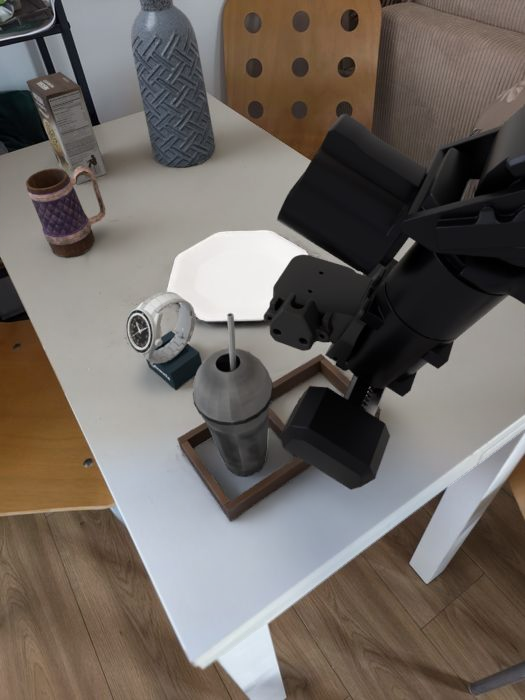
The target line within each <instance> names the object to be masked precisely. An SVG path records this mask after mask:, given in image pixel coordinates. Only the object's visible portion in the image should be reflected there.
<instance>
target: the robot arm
mask: <svg viewBox="0 0 525 700" xmlns="http://www.w3.org/2000/svg"><path fill="white" fill-rule="evenodd" d="M471 180H478V182H477V185H476V188H475V191H474V196H473V197H470V198H466V199H465V196H466V193H467V190H468V188H469V186H470V183H471ZM276 221H277V222H279V223H280V224H282V225H283V226H285V227H287V228H288V229H290V230H292V231H293V232H294V233H296V234H298V235H299V236H301V237H303V238H304V239H306V240H307V241H309V242H311V243H312V244H314V245H315V246H316V247H318V248H320V249H322V250H323V251H325V252H327V253H328V254H329V255H332V256H333V257H335V258H336V259H338V261H339V260H340V261H341V262H342V263H344V264H346V265H347V266H346V265H343V264H340V263H337V262H333V261H329V260H326V259H323V258H320V257H316V256H312V255H310V254H309V255H298V256H295V257H294V258H292V259H291V261H290V262H289V264H288V265H287V267H286V268H285V270H284V271H283V273H282V274H281V276H280V277H279V279H278V280H277V282H276V283H275V285H274V287H273V298H272V300H271V301H270V307H269V308H268V310H267V311H266V313H265V314H264V320H265V323H267V324H269V335H270V337H271V338H272V339H273V340H274V341H275V342H276V343H279V344H282V345H285V346H288V347H291V348H293V349H297V350H299V351H303V352H305V351H309V350H311V349H312V348H313V346H314V345H315V343H317V342H318V343H324V344H325V343H331V344H330V345H329V347H328V349H327V351H326V352H325V355H324V356H325V357H327V358H329V359H330V360H332V361H333V362H335V364H334V366H335V367H336V368H337V369H339V370H341V371H343V372H347V371H349V372H350V373H351V374H352V377H351V379H350V383H349V386H348V388H347V390H346V392H345V394H344V395H343V396H342V395H341V394H339V393H338V392H336V391H334V390H333V389H331V388H330V387H329V386H317V385H309V386H308V387H307V388H306V390H305V391H304V392H303V393H302V394H301V396H300V397H299V398H298V400H297V402H296V403H295V405H294V407H293V409H292V411H291V413H290V415H289V417H288V419H287V420H286V423H285V426H284V428H283V430H282V432H281V434H280V436H279V437H280V439H281V440H280V439H279V440H280V442H281V446H282V448H283V449H284V450H286V451H288V452H289V453H291V454H292V455H293V454H294V455H296V456H297V457H299V458H300V459H302V460H304V461H305V462H307V463H308V464H310V465H312V466H311V467H313V468H315V469H317V470H318V471H320V472H321V473H322V474H324V475H326V476H327V477H329V478H331V479H333V480H334V481H336V482H337V483H339V484H341V485H342V486H344V487H345V488H347V489H348V490H351V491H352V490H355V489H359V488H362V487H363V486H365V485H367V484H369V483H370V482H373V480H375V479H376V477H377V474H378V472H379V469H380V466H381V463H382V461H383V457H384V454H385V452H386V450H387V446H388V443H389V441H390V438H391V435H390V431H389V428H388V426H387V424H386V422H385V421H384V420H381V419H380V418H379V419H378V418H376V417H375V413H376V411H377V408H378V407H380V406H379V405H380V404H381V401H382V398H383V396H384V393H385V390H386V388H387V389H389V390H390V391H392V392H393V393H395V394H397V395H399V396H400V397H401V398H403V397H405V396H406V395H407V394H408V393H410V392H411V390H412V388H413V384H414V382H415V379H416V376H417V373H418V371H419V370H420V369H422V368H423V367H424V366H425V365H427V364H429V365H431V366H433V367H434V368H435V369H437V370H439V369H440V368H441V367H442V366H444V365H445V364H447V363H448V362H449V360H450V356H451V352H452V350H453V346H454V342H455V340H457V339H458V338H459V337H461V336H462V335H463V334H464V333H465V332H466V331H468V330H469V329H470V328H471V327H472V326H474V325H475V324H476V323H477V322H478V321H480V320H481V319H482V318H484V317H485V316H486V315H487V314H488V313H490V312H491V311H492V310H493V309H494V308H496V307H497V306H498V305H499V304H500V303H501V302H503V301H504V300H506V299H507V297H509V296H510V297H511V298H514V299H515V300H517V301H518V302H520V303H521V304H523V305H525V103H524V104H523V106H521V107H520V108H519V109H517V110H516V111H515V112H514V113H513V114H512V115H511V116H510V117H509V118H508V119H506V120H505V121H504V122H503V124H502V125H498V126H496V127H494V128H490V129H488V130H484V131H482V132H478V133H476V134H473V135H470V136H467V137H462V138H461V139H457V140H454V141H452V142H449V143H445V144H443V145H440V146H437V148H436V149H435V152H434V153H433V156H432V157H431V160H430V162H429V163H428V165H426V167H425V166H423V165H421V163H419V162H416V161H415V160H413V158H410V157H409V156H407V155H405V154H404V153H402V152H400V151H399V150H398V149H396V148H394V147H393V146H391V145H390V144H388V143H387V142H385V141H384V140H381V139H380V138H378V137H377V136H376V135H375V134H374V133H373V132H372V131H371V130H370V129H369V128H368V127H367V126H366V125H364V124H363V123H362V122H360V121H358V120H357V119H355V118H353V117H352V116H350V115H349V114H347V113H343V114H341V115H339V117H338V118H337V119H336V121H335V122H334V123H333V125H331V126H330V128H329V130H328V131H327V133H326V135H325V137H324V139H323V140H322V142H321V144H320V147H319V148H318V149H317V151H316V153H315V154H314V156H313V157H312V159H311V161H310V162H309V164H308V166H307V167H306V169H305V170H304V171H303V173H302V174H301V176H300V177H299V179H298V180H297V181H296V182H295V183H294V185H293V186H292V188H290V190H289V191H288V193H287V195H286V197H285V199H284V201H283V203H282V205H281V207H280V210H279V212H278V215H277V218H276ZM409 239H411V240H412V241H414V242H413V244H412V245H411V246H410V247H409V248H408V250H407V251H406V252H405V253H404V255H402V257H401V258H400V259H399V261H398V260H397V259H395V257H396V256H397V255H398V253H400V251H401V249H402V248H403V247H404V245H405V244H406V243H407V241H408V240H409ZM356 271H357V272H356ZM358 272H360V273H358ZM361 273H362V274H361ZM364 399H365V401H364ZM362 404H363V405H362ZM294 455H293V456H294Z"/></svg>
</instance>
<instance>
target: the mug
mask: <svg viewBox="0 0 525 700" xmlns="http://www.w3.org/2000/svg"><path fill="white" fill-rule="evenodd" d="M80 175H85V176H88V177H89V178H90V179H91V180H90V181H91V183H92V188H93V191H94V194H95V197H96V200H97V203H98V206H99V213H97V214H96V215H94V216H91V217H88V215H87V214H86V213H85V210H84V208H83V206H82V204H81V202H80V199H79V197H78V194H77V192H76V189H75V187H74V185H77V184H76V183H77V179H78V177H79V176H80ZM25 185H26V190H27V193H28V196H29V197H30V199H31V202H32V204H33V207H34V209H35V211H36V214H37V216H38V219H39V222H40V224H41V226H42V227H41V228H42V232H43V235H44V237H45V239H46V241H47V242H48V244H49V246H50V249H51V251H52V252H53V254H55V255H57V256H61V257H64V258H67V257H68V258H71V257H76V256H79V255H82V254H84V253H86V252H87V251H89V250H90V248H92V246H93V245H94V244H95V241H96V237H95V234H94V232H93V229H92V226H93V225H94V224H97V223H99V222H101V220H103V219H104V218H105V216H106V207H105V203H104V200H103V197H102V194H101V191H100V189H99V188H100V187H99V184H98V180H97V177H96V175H95V174H94V173H93V172H92V170H91V169H90V168H89V167H86V166H83V165H82V166H80V167H77V168H76V169H75V170H74V175H73V178H72V179H71V178H70V177H69V176H68V174H67V173H66V171H64V170H62V169H61V168H55V167H54V168H46V169H42V170H40V171H39V170H38V171H37V172H35V173H33V174H32V175H30V176H29V177H28V178H27V179H26V181H25Z"/></svg>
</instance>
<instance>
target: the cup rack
mask: <svg viewBox="0 0 525 700" xmlns="http://www.w3.org/2000/svg"><path fill="white" fill-rule="evenodd" d="M319 373H320V374H321V375H322V376H323V377H324V378H325V379H326V380H327V381H328V382H329V383H331V385H333V387H335V388H336V390H338V391H339V392H340V394H342V395H343V396H344V394H345V392H346V390H347V388H348V386H349V383H350V381H351V379H349V378H348V377H347V376H346V375H345V374H344V373H343V372H342V371H340V369H339V368H338V367H337V366H336V365H335V364H333V363H332V362H331V361H330V360H329V359H328V358H326V356H325V355H323V353H320V354H318V355H317V356H315V357H313V358H312V359H310V360H308V361H306V362H305V363H303V364H301V365H300V366H298V367H296V368H294V369H293V370H291V371H289V372H287V373H285V374H284V375H282V376H281V377H279V378H277V379H275V380H274V381H272V384H273V388H274V392H273V398H272V401H271V402H273V401H275V400H276V399H278V398H280V397H281V396H283V395H285V394H286V393H288V392H290V391H291V390H293V389H295V388H296V387H298V386H299V385H302V383H305V382H306V381H308V380H309V379H311V378H313V377H314V376H316V375H318V374H319ZM364 401H365V399H364ZM362 405H363V404H362ZM381 411H382V409H381V408H380V406H378V408H377V411H376V413H375V417H376V418H378V419H379V420H380V416H381ZM285 425H286V423H285V422H283V421H282V420H281V418H280V417H279V416H278V415H277V414H276V412H274V410H273V409H271V407H270V410H269V421H268V428H269V429H270V430H271V431H272V432H273V433H274V434H275V435H276V436H277V438H278V439H279V440H280V441H281V439H280V437H279V436H280V434H281V432H282V430H283V428H284V426H285ZM210 439H213V437H212V435H211V433H210V430H209V428H208V425H207V423H206V422H205V421H204V422H202V423H201V424H199V425H198V426H196V427H195V428H193V429H191V430H189V431H187V432H186V433H184V434H183V435H181V436H179V437H177V443H178V446H179V448H180V451H181V452H182V454H183V455H184V457H185V458H186V460H187V461H188V463H189V464H190V465H191V467H192V468H193V470H194V471H195V473H196V475H198V477H199V479H200V480H201V481H202V483H203V484H204V486H205V487H206V488H207V490H208V491H209V493H210V494H211V496H212V497H213V499H214V500H215V502H216V503H217V505H218V506H219V508H220V509H221V511H222V513H223V514H224V515H225V516H226V518H227V520H228V521H229V522H232V521H233V520H234V519H237V518H238V517H240V516H241V515H242V514H244V513H245V512H247V511H248V510H250V509H251V508H253V507H254V506H255V505H257V504H258V503H260V502H261V501H263V500H264V499H265V498H267V497H269V496H270V495H272V494H273V493H275V492H276V491H278V490H279V489H280V488H282V487H283V486H285V485H287V484H288V483H289V482H291V481H292V480H293V479H295V478H297V477H298V476H299V475H301V474H303V473H304V472H306V471H307V470H308V469H310V468H312V467H313V466H312V465H310V464H308V463H307V462H305V461H304V460H302V459H300V458H299V457H297V456H296V455H294V454H292V455H293V456H294V457H295V458H293V459H292V460H290V461H288V462H287V463H286V464H284V465H283V466H281V467H279V468H278V469H276V470H275V471H274V472H272V473H270V474H269V475H267V476H266V477H265V478H263V479H261V480H260V481H259V482H257V483H255V484H254V485H253V486H251V487H249V488H248V489H247V490H245V491H244V492H242V493H240V494H239V495H237V496H236V497H234V498H232V499H231V500H230V499H229V497H228V495H227V494H226V493H225V492H224V490H223V489H222V487H221V486H220V485H219V483H218V482H217V480H216V478H215V477H214V476H213V474H212V473H211V472H210V470H209V469H208V468H207V466H206V464H205V463H204V462H203V460H202V459H201V458H200V456H199V455H198V453H197V452H196V450H195V448H197V447H198V446H201V445H202V444H204V443H205V442H207V441H209V440H210Z"/></svg>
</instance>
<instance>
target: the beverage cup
mask: <svg viewBox="0 0 525 700" xmlns="http://www.w3.org/2000/svg"><path fill="white" fill-rule="evenodd" d="M227 320H228V322H227V335H228V336H227V337H228V348H224V349H220V350H217V351H215V352H213V353H212V354H210V355H209V356H208V357H207V358H205V359H204V360H203V362H202V364H201V366H200V367H199V369H198V370H197V373H196V376H194V380H193V383H192V385H193V387H192V388H193V390H192V399H193V405H194V407H195V409H196V410H197V412H198V414H199V415H200V416H201V417H202V419H203V420H204V423H205V422H206V423H207V425H208V428H209V430H210V433H211V435H212V440H213V441H214V444H215V446H216V449H217V451H218V454H219V456H220V459H221V461H222V462H223V464H224V466H225V468H226V469H227V471H228V472H229V473H231V474H232V475H234V476H236V477H240V478H241V477H242V478H247V477H252V476H254V475H255V474H259V472H261V470H262V469H263V467H264V466H265V464H266V461H267V454H268V453H267V452H268V446H269V445H268V441H269V426H268V421H269V410H270V408H271V406H272V402H273V401H272V398H273V392H274V388H273V384H272V382H273V381H272V378H271V376H270V374H269V371H268V369H267V367H266V366H265V365H264V364H263V362H262V361H261V360H260V358H258V357H257V356H256V355H254V354H253V353H251V352H250V351H247V350H244V349H241V348H236V334H235V322H234V315H233V313H229V314H228V315H227Z"/></svg>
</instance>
